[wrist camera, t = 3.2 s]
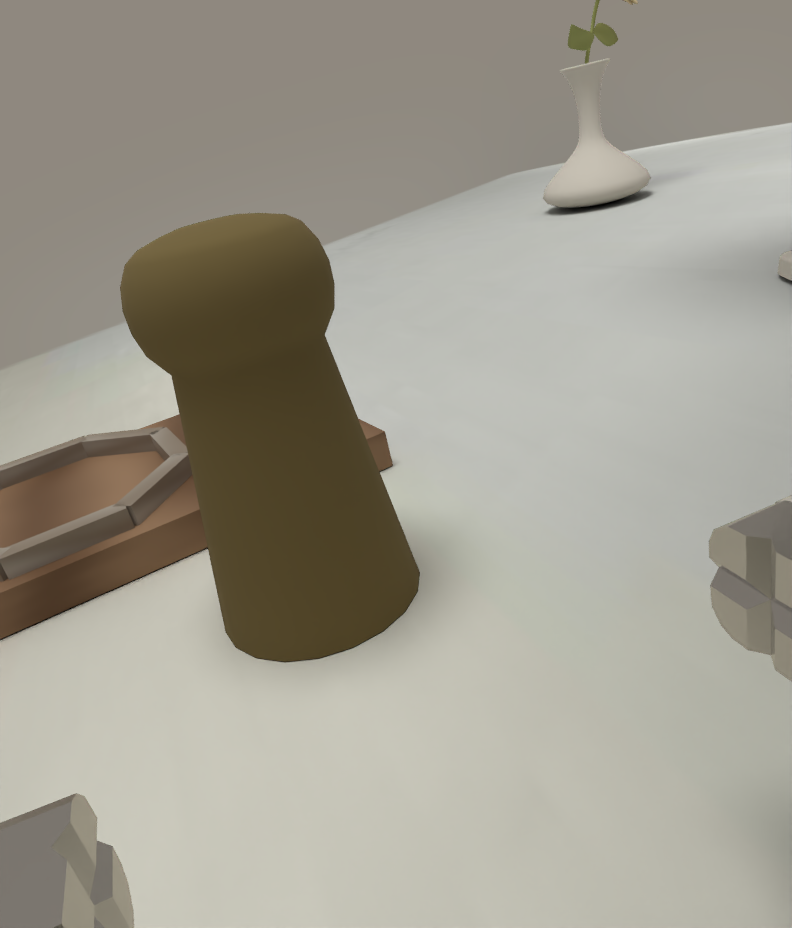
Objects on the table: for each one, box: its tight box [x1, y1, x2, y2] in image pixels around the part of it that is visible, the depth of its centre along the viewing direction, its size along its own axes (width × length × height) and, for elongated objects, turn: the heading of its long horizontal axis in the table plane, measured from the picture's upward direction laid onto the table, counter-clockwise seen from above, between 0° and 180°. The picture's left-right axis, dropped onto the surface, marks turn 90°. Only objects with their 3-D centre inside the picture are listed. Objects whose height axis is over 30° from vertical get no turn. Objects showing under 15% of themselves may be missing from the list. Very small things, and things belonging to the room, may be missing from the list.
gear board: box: [0, 414, 393, 639], centre depth 29 cm, size 24×12×4 cm, turn 120°
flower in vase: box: [543, 0, 651, 208], centre depth 76 cm, size 13×11×25 cm
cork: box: [120, 213, 420, 662], centre depth 20 cm, size 6×6×11 cm
